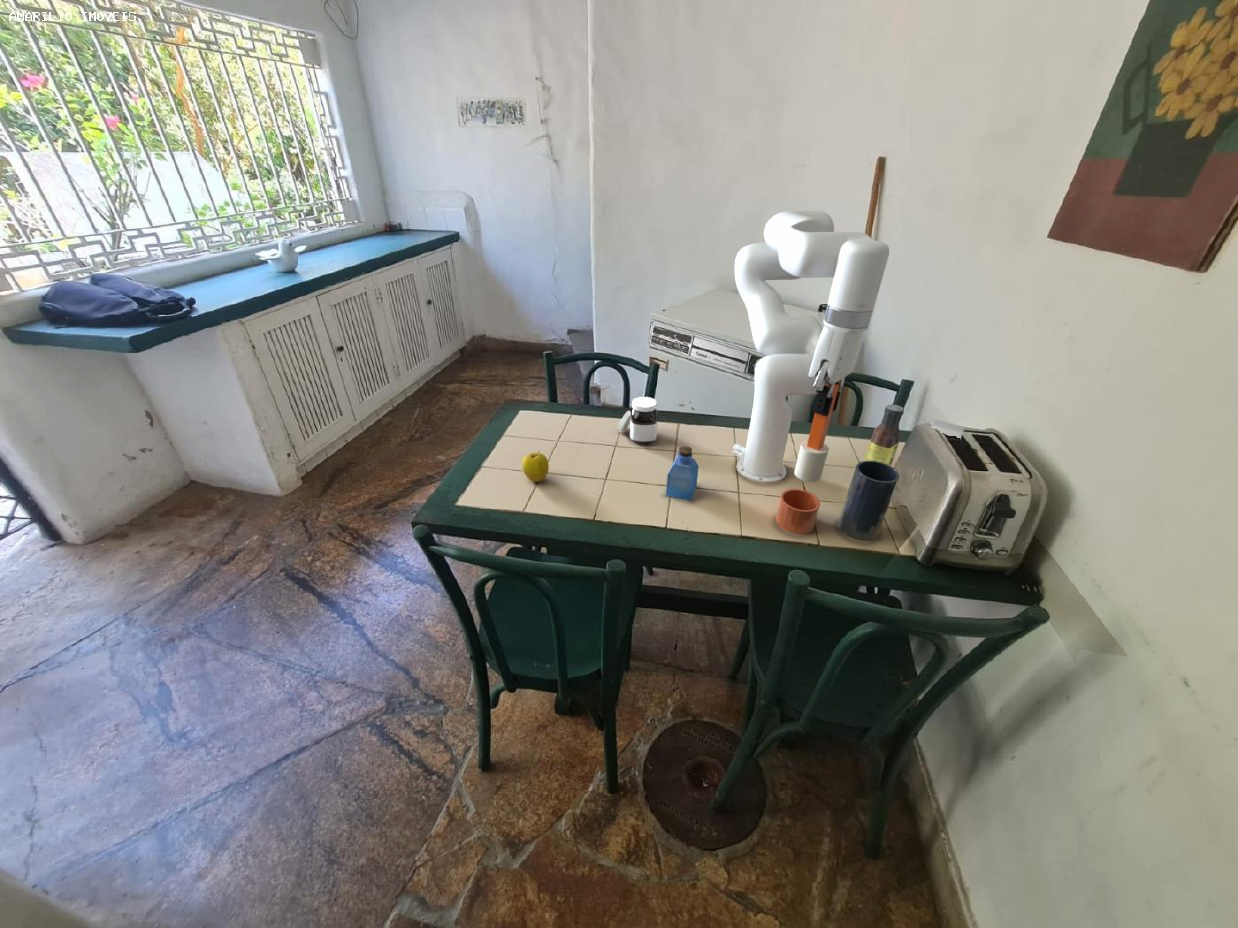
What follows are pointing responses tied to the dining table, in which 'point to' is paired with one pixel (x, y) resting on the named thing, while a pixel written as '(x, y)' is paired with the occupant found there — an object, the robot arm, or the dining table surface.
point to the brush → (815, 447)
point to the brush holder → (797, 511)
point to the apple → (535, 466)
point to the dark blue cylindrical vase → (868, 500)
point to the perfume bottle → (682, 475)
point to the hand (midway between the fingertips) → (823, 410)
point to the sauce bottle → (886, 436)
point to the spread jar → (641, 420)
